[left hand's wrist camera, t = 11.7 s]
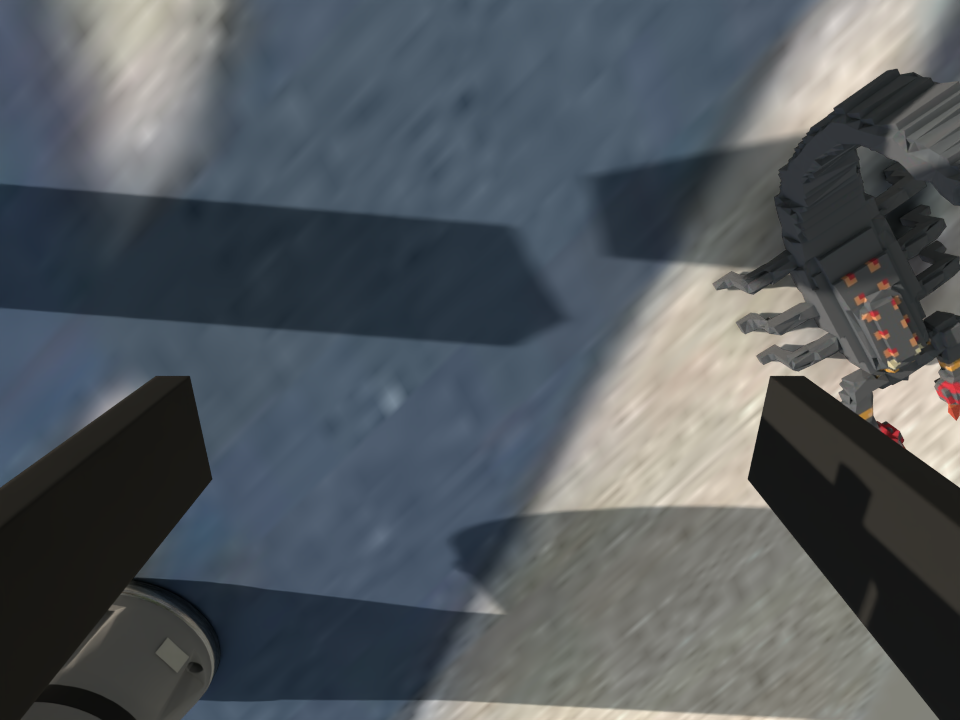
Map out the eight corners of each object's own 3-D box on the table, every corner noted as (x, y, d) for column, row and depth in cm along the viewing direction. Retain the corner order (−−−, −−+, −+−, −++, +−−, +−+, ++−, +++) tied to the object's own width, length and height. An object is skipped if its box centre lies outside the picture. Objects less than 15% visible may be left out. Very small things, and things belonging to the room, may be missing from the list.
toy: (844, 27, 32) (1269, -108, 15) (990, 365, 40) (1376, 532, 22) (645, 173, 35) (806, 202, 18) (819, 459, 42) (1045, 670, 26)
